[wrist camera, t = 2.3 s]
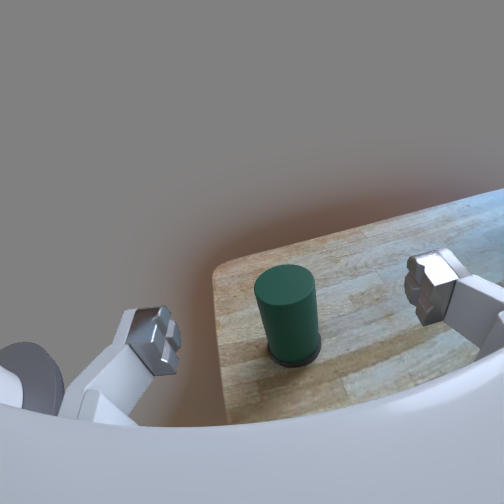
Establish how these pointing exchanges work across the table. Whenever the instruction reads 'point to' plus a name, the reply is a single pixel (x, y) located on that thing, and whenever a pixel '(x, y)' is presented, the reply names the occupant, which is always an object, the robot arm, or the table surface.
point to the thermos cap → (289, 314)
